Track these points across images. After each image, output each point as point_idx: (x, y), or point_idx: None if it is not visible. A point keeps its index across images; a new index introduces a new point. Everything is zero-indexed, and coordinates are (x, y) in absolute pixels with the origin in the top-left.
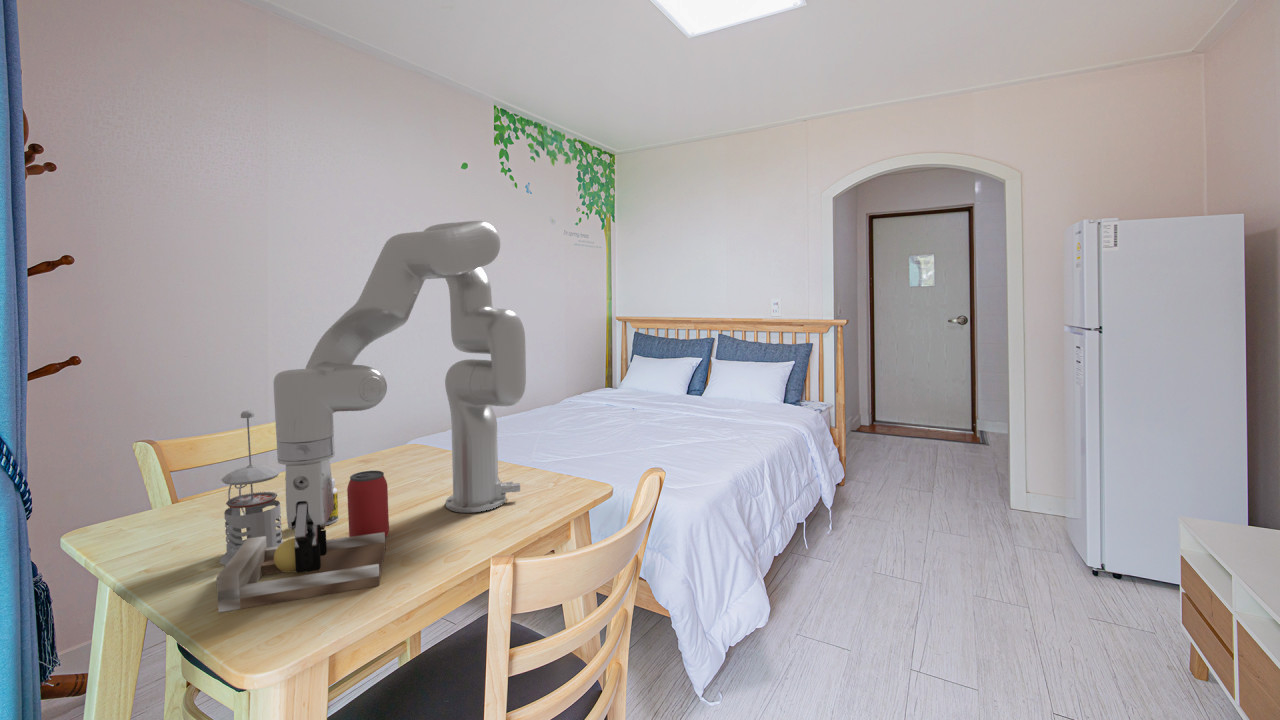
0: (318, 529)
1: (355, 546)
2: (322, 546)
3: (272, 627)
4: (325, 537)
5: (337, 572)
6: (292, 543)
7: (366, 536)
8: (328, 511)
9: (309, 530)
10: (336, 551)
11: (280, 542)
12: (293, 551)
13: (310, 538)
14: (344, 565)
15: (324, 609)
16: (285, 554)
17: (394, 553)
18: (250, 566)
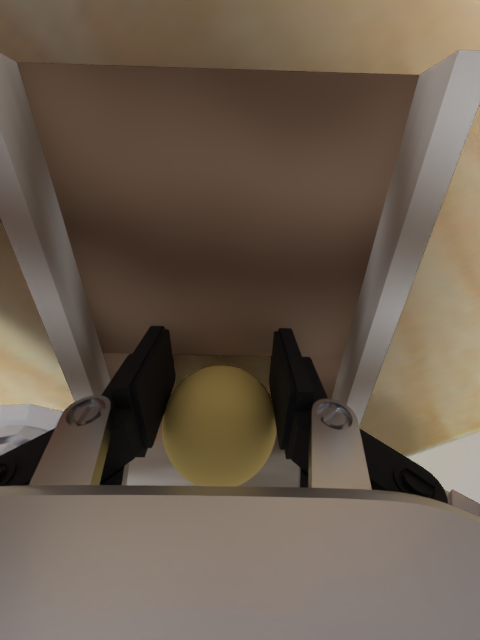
0: (128, 423)
1: (63, 225)
2: (158, 352)
3: (458, 366)
4: (139, 366)
5: (414, 268)
6: (245, 469)
7: (10, 169)
8: (313, 618)
9: (133, 451)
10: (105, 292)
11: (6, 432)
12: (269, 442)
13: (420, 474)
14: (249, 250)
15: (459, 274)
16: (270, 453)
17: (86, 17)
18: (251, 482)
